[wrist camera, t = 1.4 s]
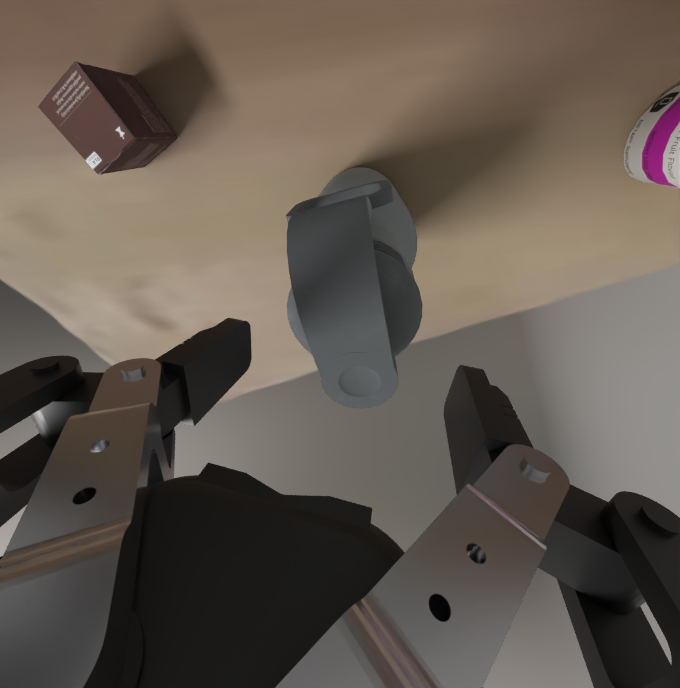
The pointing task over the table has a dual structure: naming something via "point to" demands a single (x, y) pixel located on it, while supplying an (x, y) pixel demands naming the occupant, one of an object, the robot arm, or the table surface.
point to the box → (107, 118)
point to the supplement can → (656, 143)
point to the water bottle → (354, 284)
